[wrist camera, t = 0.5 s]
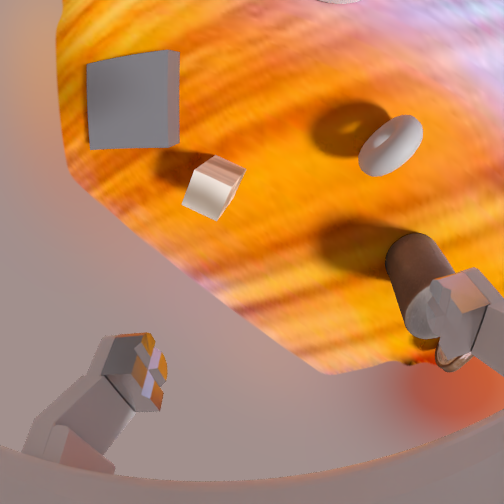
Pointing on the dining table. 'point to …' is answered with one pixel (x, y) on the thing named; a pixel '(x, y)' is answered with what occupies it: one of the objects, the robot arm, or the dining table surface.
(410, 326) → the pillar candle
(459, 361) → the tin
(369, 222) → the dining table surface
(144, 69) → the grey plinth
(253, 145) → the dining table surface
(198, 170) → the grey upright block
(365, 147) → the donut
